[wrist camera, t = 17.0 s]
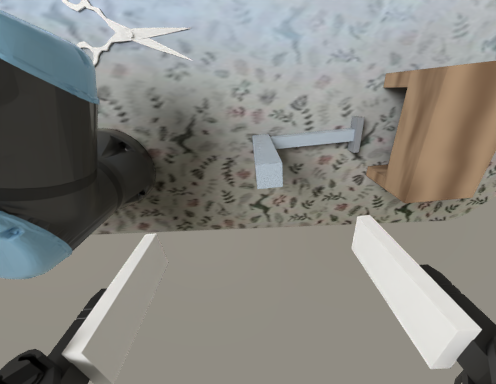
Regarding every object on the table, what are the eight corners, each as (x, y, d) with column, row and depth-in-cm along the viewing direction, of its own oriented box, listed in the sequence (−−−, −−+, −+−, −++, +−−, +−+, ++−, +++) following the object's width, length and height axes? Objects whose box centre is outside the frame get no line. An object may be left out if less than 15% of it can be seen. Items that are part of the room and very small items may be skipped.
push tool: (254, 158, 38) (258, 199, 24) (251, 127, 35) (254, 152, 21) (352, 149, 37) (417, 185, 23) (357, 115, 34) (435, 133, 20)
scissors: (41, -26, 26) (192, -3, 27) (46, -23, 27) (193, -1, 27) (67, 68, 31) (193, 84, 32) (71, 68, 32) (194, 84, 32)
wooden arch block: (366, 175, 40) (404, 203, 30) (386, 73, 31) (448, 66, 22) (416, 170, 39) (472, 197, 30) (450, 66, 31) (543, 55, 21)
